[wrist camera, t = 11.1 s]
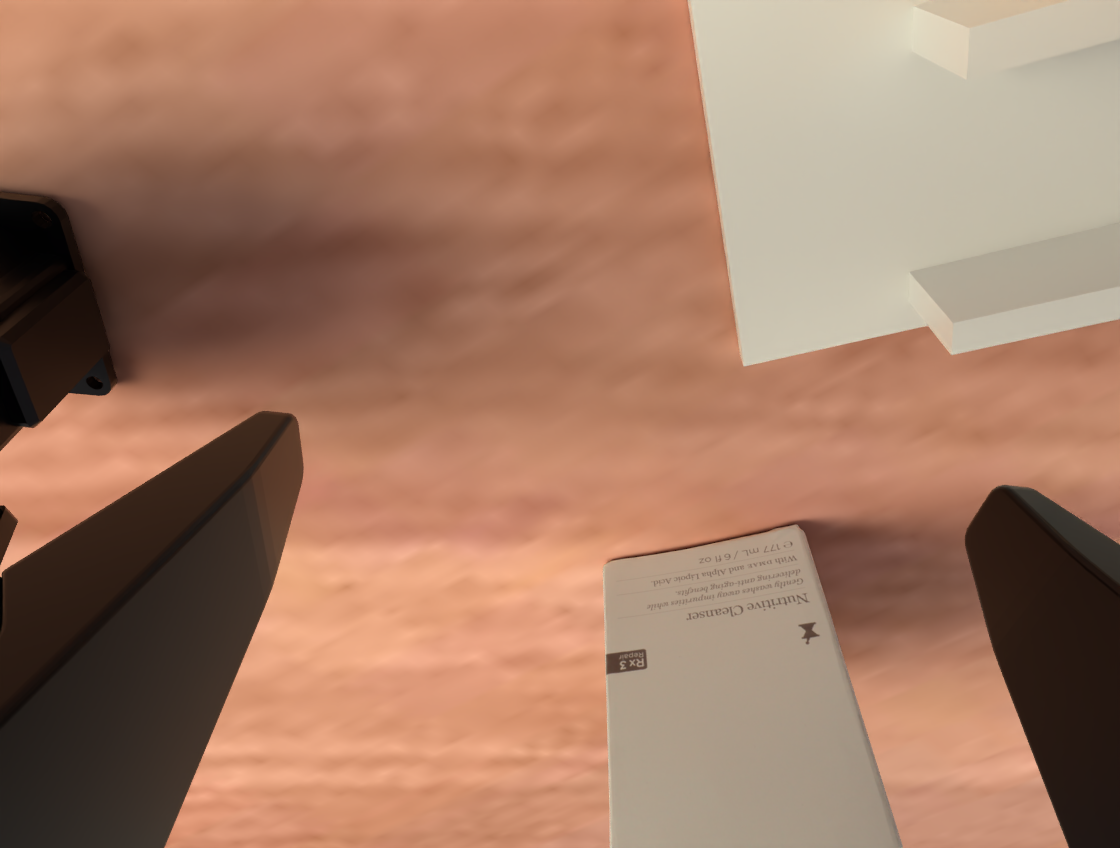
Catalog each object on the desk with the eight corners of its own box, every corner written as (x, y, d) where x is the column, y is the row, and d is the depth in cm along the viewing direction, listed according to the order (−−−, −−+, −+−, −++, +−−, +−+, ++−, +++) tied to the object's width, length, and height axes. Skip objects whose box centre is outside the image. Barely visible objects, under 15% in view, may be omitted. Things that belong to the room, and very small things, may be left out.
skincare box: (800, 517, 28) (973, 990, 16) (815, 613, 32) (968, 1061, 20) (590, 562, 30) (609, 1024, 18) (627, 648, 33) (663, 1083, 21)
